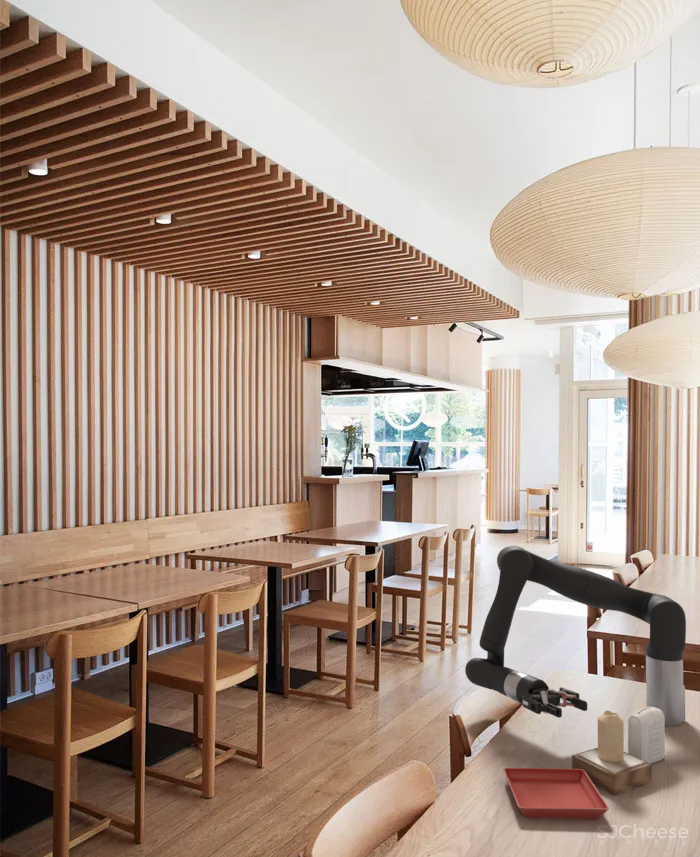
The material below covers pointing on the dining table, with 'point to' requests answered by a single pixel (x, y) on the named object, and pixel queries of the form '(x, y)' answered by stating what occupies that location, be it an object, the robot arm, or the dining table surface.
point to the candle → (610, 737)
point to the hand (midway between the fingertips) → (573, 710)
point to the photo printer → (647, 734)
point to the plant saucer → (555, 793)
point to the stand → (613, 771)
